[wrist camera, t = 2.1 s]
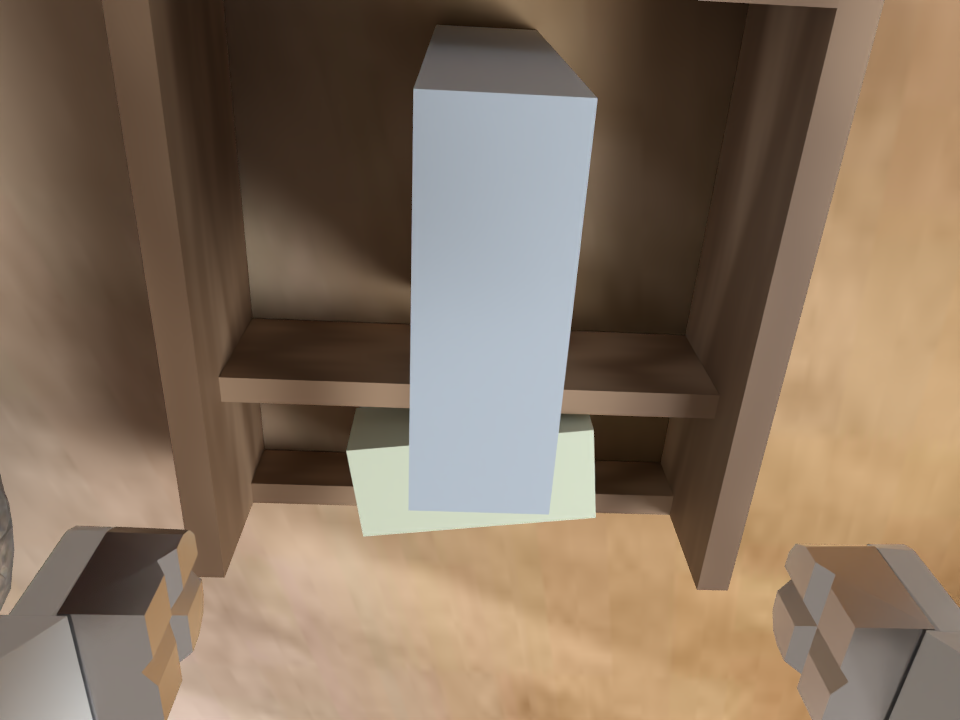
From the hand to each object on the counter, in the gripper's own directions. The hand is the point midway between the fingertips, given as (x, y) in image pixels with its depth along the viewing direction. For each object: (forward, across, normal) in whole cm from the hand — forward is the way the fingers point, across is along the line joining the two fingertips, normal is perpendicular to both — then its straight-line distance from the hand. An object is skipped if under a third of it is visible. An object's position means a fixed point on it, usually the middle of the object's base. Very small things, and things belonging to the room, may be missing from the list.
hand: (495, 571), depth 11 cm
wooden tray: (+21, 0, +3) cm, 21 cm away
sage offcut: (+19, -1, +10) cm, 21 cm away
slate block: (+21, 0, 0) cm, 21 cm away
